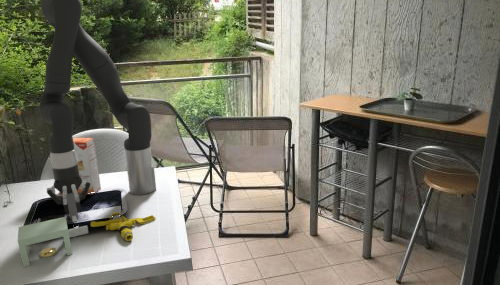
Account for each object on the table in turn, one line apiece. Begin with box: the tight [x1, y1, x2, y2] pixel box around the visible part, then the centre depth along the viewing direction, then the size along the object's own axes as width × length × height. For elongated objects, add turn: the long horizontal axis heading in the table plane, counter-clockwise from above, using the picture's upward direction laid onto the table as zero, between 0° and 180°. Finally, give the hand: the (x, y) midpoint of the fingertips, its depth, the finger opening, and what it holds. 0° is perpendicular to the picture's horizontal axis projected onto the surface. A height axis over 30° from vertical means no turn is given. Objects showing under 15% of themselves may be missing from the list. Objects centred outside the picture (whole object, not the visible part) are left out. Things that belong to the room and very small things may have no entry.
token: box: [39, 246, 57, 258], centre depth 113 cm, size 4×4×1 cm
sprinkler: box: [90, 211, 156, 242], centre depth 124 cm, size 19×4×15 cm
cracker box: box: [59, 137, 101, 194], centre depth 150 cm, size 14×6×21 cm, turn 83°
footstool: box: [17, 216, 73, 268], centre depth 111 cm, size 12×8×8 cm, turn 117°
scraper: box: [66, 192, 89, 238], centre depth 127 cm, size 6×16×9 cm, turn 27°
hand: (73, 212), depth 133 cm, fingers closed on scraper
